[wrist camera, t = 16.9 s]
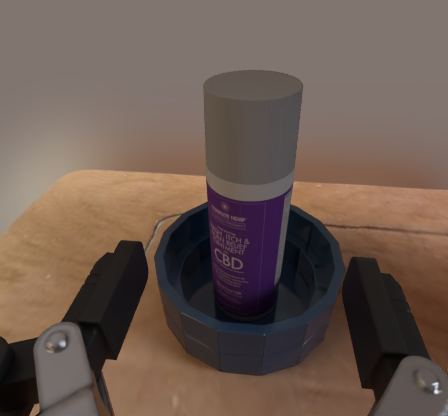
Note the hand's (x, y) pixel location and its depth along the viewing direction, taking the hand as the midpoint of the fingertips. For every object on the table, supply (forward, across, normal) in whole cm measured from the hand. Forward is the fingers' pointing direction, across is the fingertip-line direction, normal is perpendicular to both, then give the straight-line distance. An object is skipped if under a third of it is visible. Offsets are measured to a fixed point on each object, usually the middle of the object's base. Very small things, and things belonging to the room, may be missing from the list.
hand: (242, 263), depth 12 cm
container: (+6, 0, +10) cm, 12 cm away
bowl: (+6, 0, +11) cm, 12 cm away
